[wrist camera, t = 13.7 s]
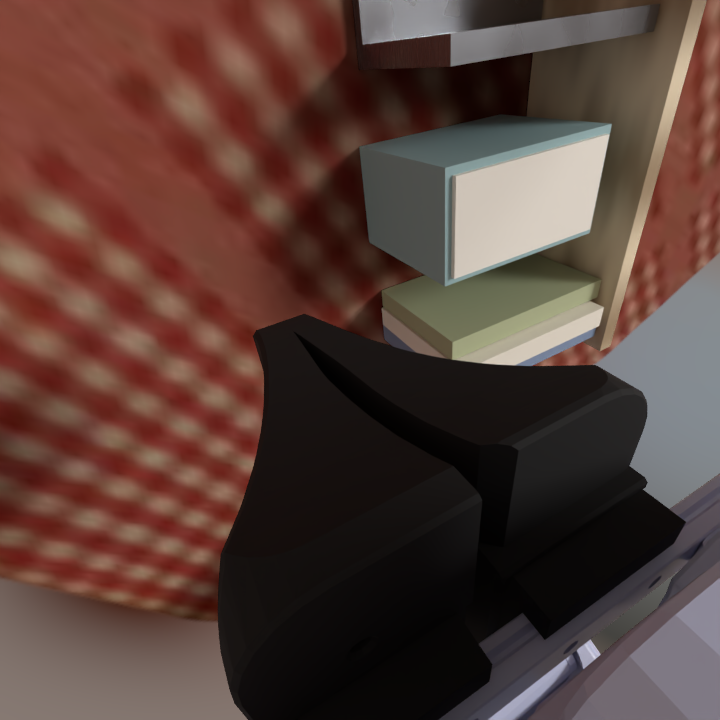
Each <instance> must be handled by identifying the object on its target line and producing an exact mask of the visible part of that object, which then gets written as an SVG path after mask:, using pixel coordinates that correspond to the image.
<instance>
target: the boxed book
mask: <svg viewBox="0 0 720 720" xmlns="http://www.w3.org/2000/svg"><path fill="white" fill-rule="evenodd" d="M611 126H612V124H609V123H597V122H585V121H573V120H561V119H549V118H538V117H526V116H514V115H502V114H500V115H496V116H491V117H487V118H482V119H478V120H474V121H469V122H465V123H460V124H456V125H452V126H447V127H443V128H438V129H434V130H430V131H425V132H421V133H417V134H412V135H408V136H403V137H399V138H395V139H390V140H386V141H381V142H377V143H373V144H368V145H364V146H360V147H359V149H360V159H361V168H362V178H363V187H364V197H365V207H366V216H367V226H368V235H369V243H371V244H373V245H375V246H376V247H378V248H380V249H381V250H383V251H385V252H387V253H388V254H390V255H392V256H393V257H395V258H397V259H399V260H400V261H402V262H404V263H405V264H407V265H409V266H411V267H412V268H414V269H416V270H417V271H419V272H421V273H423V274H424V275H426V276H428V277H429V278H431V279H433V280H434V281H436V282H438V283H440V284H441V285H443V286H448V285H451V284H453V283H456V282H459V281H461V280H464V279H467V278H469V277H472V276H475V275H478V274H480V273H483V272H486V271H488V270H491V269H494V268H496V267H499V266H502V265H505V264H507V263H510V262H513V261H515V260H518V259H521V258H523V257H526V256H529V255H532V254H534V253H537V252H540V251H542V250H545V249H548V248H550V247H553V246H556V245H559V244H561V243H564V242H567V241H569V240H572V239H575V238H577V237H580V236H583V235H586V234H588V233H590V229H591V224H592V219H593V214H594V209H595V204H596V200H597V195H598V190H599V185H600V180H601V175H602V170H603V165H604V160H605V156H606V151H607V146H608V141H609V136H610V131H611Z"/></svg>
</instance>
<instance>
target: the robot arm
mask: <svg viewBox="0 0 720 720" xmlns="http://www.w3.org/2000/svg"><path fill="white" fill-rule="evenodd" d="M253 338H254V341H255V344H256V348H257V351H258V354H259V357H260V361H261V364H262V367H263V371H264V409H263V419H262V427H261V434H260V439H259V444H258V449H257V454H256V458H255V462H254V466H253V470H252V473H251V476H250V479H249V483H248V486H247V489H246V492H245V495H244V499H243V502H242V504H241V507H240V510H239V512H238V515H237V517H236V520H235V522H234V524H233V527H232V529H231V531H230V534H229V536H228V539H227V541H226V543H225V546H224V548H223V550H222V553H221V559H220V572H219V587H218V628H219V639H220V649H221V655H222V659H223V664H224V668H225V672H226V676H227V681H228V685H229V689H230V692H231V695H232V698H233V700H234V703H235V704H236V706H237V707H238V708H239V709H240V711H241V712H242V713H243V714H244V715H245V716H246V718H247V719H248V720H720V474H718V475H717V476H716V477H714V478H713V479H711V480H710V481H708V482H707V483H706V484H704V485H703V486H701V487H700V488H699V489H697V490H696V491H694V492H693V493H692V494H690V495H689V496H687V497H686V498H684V499H683V500H682V501H680V502H679V503H677V504H676V505H675V506H673V507H672V508H670V509H668V508H667V507H665V506H664V505H663V504H661V503H660V502H659V501H658V500H656V499H655V498H654V497H652V496H651V495H649V494H648V493H647V492H645V491H644V490H643V489H644V488H645V487H646V485H647V481H646V479H645V477H643V476H642V475H641V474H639V473H638V472H637V471H635V470H634V469H633V468H631V467H630V466H629V465H630V463H631V460H632V457H633V455H634V452H635V450H636V447H637V445H638V442H639V440H640V437H641V435H642V432H643V429H644V426H645V422H646V419H647V402H646V399H645V397H644V395H643V393H642V392H641V391H639V390H638V389H636V388H634V387H633V386H631V385H629V384H627V383H626V382H624V381H622V380H621V379H619V378H617V377H615V376H614V375H612V374H610V373H608V372H607V371H605V370H603V369H601V368H600V367H598V366H596V365H576V366H517V365H498V364H485V363H476V362H468V361H460V360H452V359H446V358H440V357H435V356H430V355H425V354H421V353H416V352H411V351H407V350H403V349H400V348H396V347H393V346H389V345H386V344H383V343H380V342H376V341H373V340H370V339H368V338H365V337H362V336H359V335H356V334H354V333H351V332H348V331H346V330H343V329H341V328H338V327H336V326H333V325H331V324H328V323H326V322H324V321H321V320H319V319H316V318H314V317H311V316H308V315H306V314H303V315H300V316H297V317H294V318H291V319H288V320H285V321H282V322H279V323H277V324H274V325H271V326H268V327H265V328H262V329H259V330H256V332H255V334H254V335H253ZM682 567H683V568H682ZM681 568H682V569H681ZM680 569H681V570H680ZM679 570H680V571H679ZM677 571H679V572H678V573H677V574H676V575H675V576H674V577H673V578H672V579H671V582H670V584H669V587H668V590H667V592H666V595H665V596H664V598H663V599H662V601H661V603H660V604H659V606H658V608H657V609H655V610H654V611H653V612H652V613H651V614H649V615H648V616H647V617H646V618H644V619H643V620H642V621H641V622H639V623H638V624H637V625H636V626H634V627H633V628H632V629H631V630H630V631H628V632H627V633H626V634H624V635H623V636H622V637H621V638H620V639H618V640H617V641H616V642H615V643H614V644H613V645H611V646H610V647H609V648H608V649H607V650H605V651H604V652H603V653H602V654H600V653H599V651H598V650H597V649H596V647H595V646H594V644H593V643H592V641H591V640H590V639H591V638H593V637H594V636H595V635H597V634H598V633H599V632H601V631H602V630H603V629H604V628H606V627H607V626H608V625H609V624H611V623H612V622H613V621H614V620H616V619H617V618H618V617H620V616H621V615H622V614H624V613H625V612H626V611H627V610H629V609H630V608H631V607H632V606H634V605H635V604H636V603H638V602H639V601H640V600H641V599H643V598H644V597H645V596H647V595H648V594H649V593H650V592H652V591H653V590H654V589H656V588H657V587H658V586H659V585H661V584H662V583H663V582H664V581H666V580H667V579H668V578H670V577H671V576H672V575H673V574H675V573H676V572H677Z"/></svg>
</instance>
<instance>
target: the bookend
mask: <svg viewBox="0 0 720 720" xmlns="http://www.w3.org/2000/svg"><path fill="white" fill-rule="evenodd" d="M352 2H353V12H354V23H355V33H356V44H357V54H358V65H359V70H367V69H396V68H425V67H451V66H457V65H463V64H468V63H474V62H480V61H486V60H492V59H497V58H503V57H509V56H515V55H520V54H526V53H532V52H538V51H543V50H549V49H555V48H561V47H567V46H572V45H578V44H584V43H590V42H595V41H601V40H607V39H613V38H618V37H624V36H630V35H636V34H642V33H647V32H653V31H654V29H655V25H656V21H657V16H658V12H659V8H660V4H652V5H645V6H637V7H630V8H622V9H615V10H607V11H600V12H592V13H585V14H577V15H569V16H562V17H554V18H547V19H541V18H542V9H543V0H352Z"/></svg>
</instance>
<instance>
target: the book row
mask: <svg viewBox="0 0 720 720" xmlns="http://www.w3.org/2000/svg"><path fill="white" fill-rule="evenodd" d="M601 280H602V279H599V278H596V277H594V276H591V275H589V274H586V273H584V272H581V271H579V270H576V269H574V268H571V267H568V266H566V265H563V264H561V263H558V262H556V261H553V260H551V259H548V258H546V257H543V256H540V255H538V254H535V253H534V254H532V255H529V256H526V257H523V258H521V259H518V260H515V261H513V262H510V263H507V264H505V265H502V266H499V267H496V268H494V269H491V270H488V271H486V272H483V273H480V274H478V275H475V276H472V277H469V278H467V279H464V280H461V281H459V282H456V283H453V284H451V285H448V286H443V285H441V284H440V283H438V282H436V281H434V280H433V279H431V278H429V277H428V276H426V275H424V276H421V277H418V278H415V279H412V280H410V281H407V282H404V283H401V284H398V285H395V286H393V287H390V288H387V289H384V290H382V301H383V308H382V318H383V329H384V339H385V340H386V341H387V342H388V343H389V344H390V345H392V346H393V347H396V348H400V349H403V350H407V351H411V352H416V353H421V354H425V355H430V356H435V357H440V358H446V359H452V360H460V361H468V362H476V363H485V364H498V365H517V366H532V365H534V364H536V363H538V362H541V361H543V360H545V359H547V358H549V357H551V356H553V355H555V354H557V353H559V352H562V351H564V350H566V349H568V348H570V347H572V346H574V345H576V344H578V343H581V342H583V341H585V340H587V339H589V338H591V337H593V336H594V334H595V330H596V327H598V326H599V325H600V321H601V317H602V313H603V309H604V307H602V306H600V305H598V304H596V303H593V302H591V301H590V300H592V299H594V298H597V297H598V293H599V288H600V284H601Z"/></svg>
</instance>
